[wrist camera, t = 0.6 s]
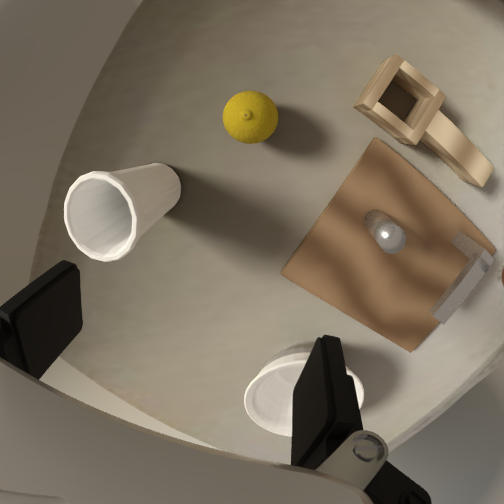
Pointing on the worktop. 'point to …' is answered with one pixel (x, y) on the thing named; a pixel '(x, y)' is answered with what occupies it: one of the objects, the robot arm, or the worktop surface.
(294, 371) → the bowl
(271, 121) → the lemon
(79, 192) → the cup
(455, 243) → the bracket
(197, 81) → the worktop surface
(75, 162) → the worktop surface
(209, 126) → the worktop surface
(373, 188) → the board
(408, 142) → the link
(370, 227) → the ball
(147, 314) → the worktop surface
